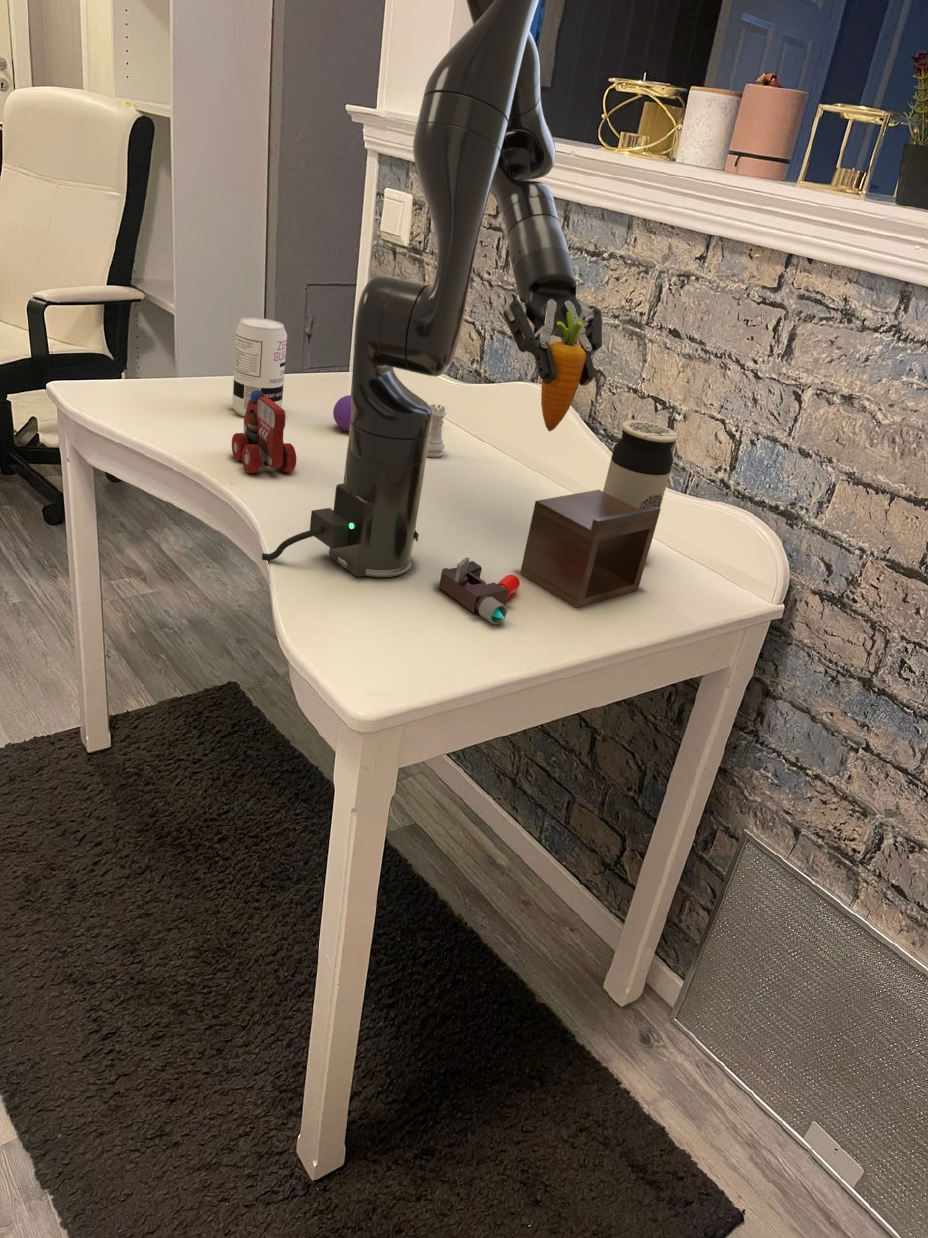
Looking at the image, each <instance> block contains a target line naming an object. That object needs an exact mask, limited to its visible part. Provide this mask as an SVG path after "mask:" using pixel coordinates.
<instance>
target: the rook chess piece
mask: <svg viewBox="0 0 928 1238" xmlns="http://www.w3.org/2000/svg"><path fill="white" fill-rule="evenodd" d="M429 406H430V408H431V410H432V425H431V431H430V438H429V444H428V451H427V457H428V458H433V459H434V458H436V459H437V458H441V457H442V456H443V455H444V453H445V452H444V449H445V444H444V441H443V437H442V432H443V431H442V430H443V425H444V423H445V422H444V418H445V416H446V415H447V412H446V407H445V406H444V405H441V404H437V406H436V403H432V404H429ZM427 457H426V458H427Z"/></svg>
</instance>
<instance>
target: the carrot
mask: <svg viewBox="0 0 928 1238" xmlns="http://www.w3.org/2000/svg"><path fill="white" fill-rule="evenodd" d="M566 314H567V322H568V328H566V327H565V325H564V324H563V323H562V322H561V321H559V322H557V326H558V327H559V328H561V330H562V333H563V336H564V340H565V341H562V340H560V341H555V342H552V343H550V344H549V347H548V349H549V350H551V351H552V355H553V360H554V364H555V368H556V372H557V376H556V378H555V379H554V380H553V381H552V382H551V383H550V384H545V383H543V379H541V389H540V390H541V391H540V392H541V393H540V396H541V397H540V399H541V400H540V402H541V403H540V405H541V412H542V418H543V421H544V426H545V428H546V429H547V431H548V432H552V431H553V430H555V429H556V428H557V427H558V426H559V424H560V423H561V422H562V420H563V419H564V418H565V416H566V414H568V411H569V410H570V407H571V405H572V403H573V401H574V398H575V396H576V393H577V391H578V389H579V385H580V383H579V382H580V378H581V375H582V371H583V367H584V363H585V358H586V353H585V351H584V350H583V349H582V348H581V346H580V344H578V343H577V344H578V345H577V344H574V343H575V341H576V339H577V337H578V335H579V333H580V331H581V328H582V324H583V322H582V320H580V319H579V320H578V322H577V323H576V325H575V327H574V318H573V313H572V312H567V313H566Z"/></svg>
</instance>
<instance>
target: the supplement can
mask: <svg viewBox="0 0 928 1238" xmlns="http://www.w3.org/2000/svg"><path fill="white" fill-rule="evenodd" d="M234 339H235V340H234V342H235V343H234V361H233V363H234V364H233V379H232V380H233V381H232V382H233V383H232V404H231V407H232V409H233V410H234V411H235V413H237V414H238V415H240V416H242V417H245V413H246V409H247V405H248V401H249V400H250V397H251V393H252V392H253V391H255V390H260V391H262V392H263V393H264V395H265V397H268V398H269V399H271V400H272V401H273V402H275V403H276V404H277V405H278V406H280V407H281V408H282V409H283V399H284V397H283V396H284V382H285V368H286V356H287V355H286V354H287V341H288V333H287V331H286V328H285V324H283V323H282V322H280V321H277V320H273V319H269V318H268V319H267V318H262V317H261V318H260V317H243V318H240V321H239V324H238V325H237V327H236V329H235V338H234Z"/></svg>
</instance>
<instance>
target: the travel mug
mask: <svg viewBox="0 0 928 1238" xmlns="http://www.w3.org/2000/svg"><path fill="white" fill-rule="evenodd" d="M620 426H621V427H620V428H621V429H622V432H621V438H620V439H619V440H618V441H617V442H616V444H615V445H614V446H613V449H612V453H611V457H610V462H609V466H608V470H607V474H606V478H605V482H604V486H603V490H602V491H603V492H605V493H607V494H609V495H611V496H613V497H615V498H617V499H619V500H621V501H623V502H625V503H627V504H629V505H631V506H633V507H635V508H637V509H639V510H640V509H645V508H650V507H655V506H657V507H659V508H661V506H662V502H663V500H664V495H665V492H666V489H667V485H668V481H669V477H670V474H671V472H672V471H671V470H672V467H673V463H674V456H673V451H672V448H673V446H674V444H675V442H676V441H677V440H678V439H679V435H678V433H676V431H674V430H672V428H670V427H666V426H664V425H661V424H658V423H654V422H650V421H644V420H626V421H623V422H622V423H621V425H620Z"/></svg>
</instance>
